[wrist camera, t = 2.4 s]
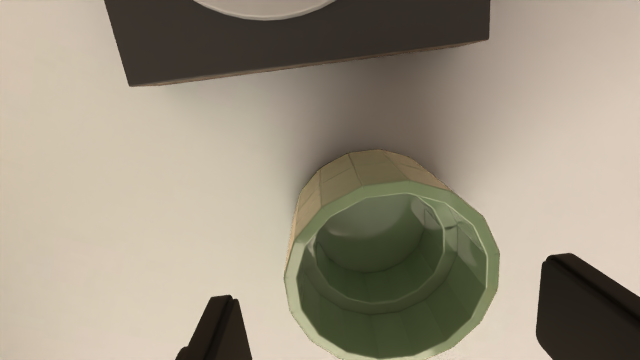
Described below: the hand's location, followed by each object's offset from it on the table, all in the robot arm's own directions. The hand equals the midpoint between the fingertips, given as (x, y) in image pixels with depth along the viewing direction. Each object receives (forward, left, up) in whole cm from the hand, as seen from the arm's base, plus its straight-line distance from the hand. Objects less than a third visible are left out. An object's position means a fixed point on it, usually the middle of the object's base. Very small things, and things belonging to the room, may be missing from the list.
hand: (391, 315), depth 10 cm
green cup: (0, 0, -7) cm, 7 cm away
